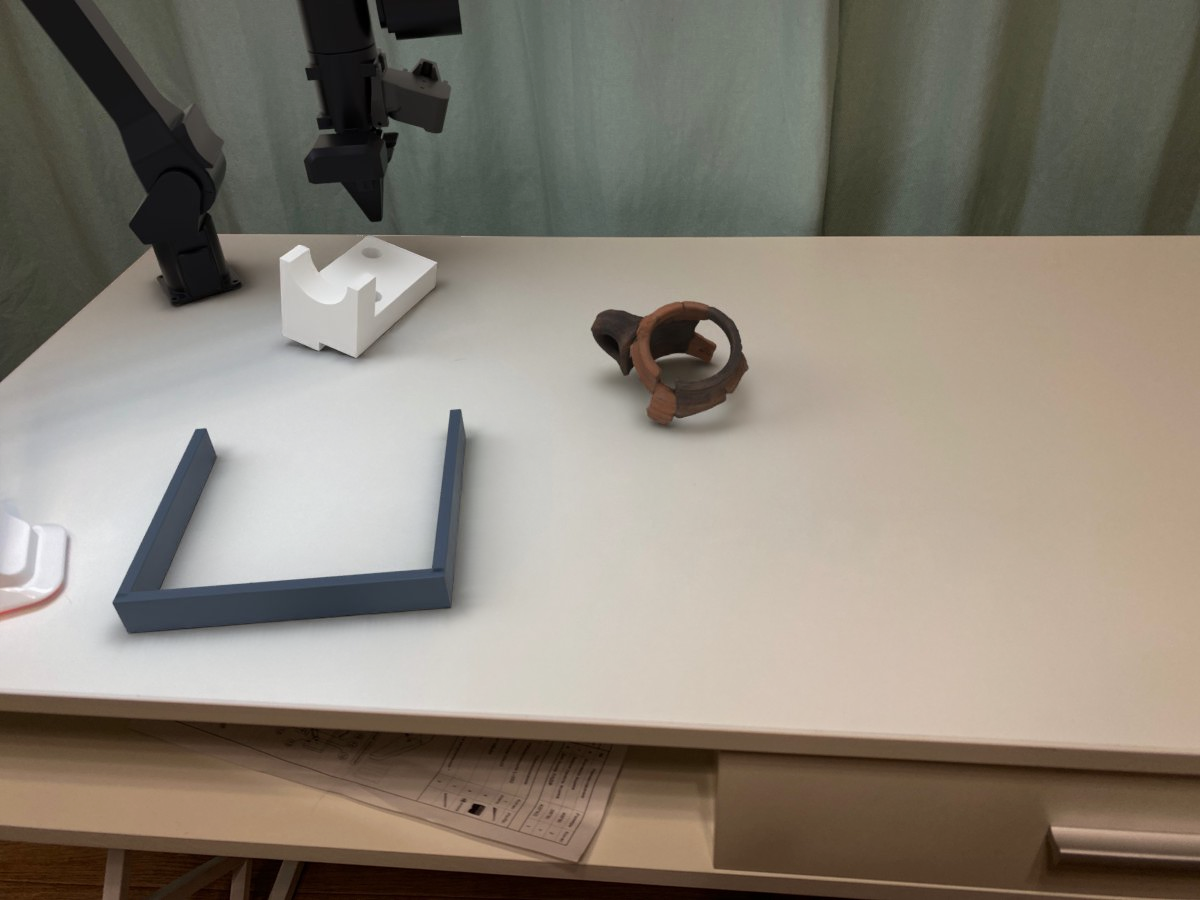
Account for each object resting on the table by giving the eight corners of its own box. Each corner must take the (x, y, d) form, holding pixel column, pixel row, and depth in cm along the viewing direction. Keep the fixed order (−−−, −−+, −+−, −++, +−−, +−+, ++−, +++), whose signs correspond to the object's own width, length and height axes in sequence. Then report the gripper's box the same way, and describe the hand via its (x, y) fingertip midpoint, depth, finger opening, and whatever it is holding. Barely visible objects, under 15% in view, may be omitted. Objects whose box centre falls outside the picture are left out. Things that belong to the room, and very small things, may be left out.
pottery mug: (749, 363, 74) (770, 309, 67) (711, 467, 71) (729, 422, 63) (606, 313, 76) (612, 254, 68) (563, 413, 72) (563, 362, 65)
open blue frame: (206, 456, 67) (195, 428, 66) (466, 436, 68) (461, 408, 66) (127, 633, 54) (111, 603, 53) (451, 607, 54) (444, 576, 53)
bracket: (356, 367, 78) (358, 290, 73) (282, 335, 79) (279, 258, 74) (434, 295, 87) (440, 223, 82) (367, 267, 88) (370, 195, 83)
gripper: (428, 70, 72) (457, 257, 81) (444, 13, 87) (467, 177, 96) (282, 80, 72) (327, 267, 81) (323, 21, 87) (357, 185, 96)
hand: (376, 220), depth 89 cm, fingers closed
